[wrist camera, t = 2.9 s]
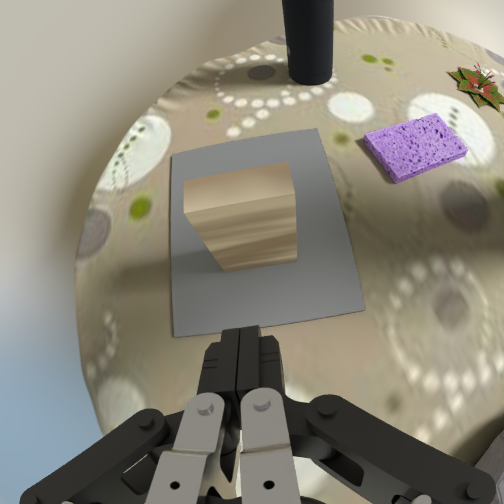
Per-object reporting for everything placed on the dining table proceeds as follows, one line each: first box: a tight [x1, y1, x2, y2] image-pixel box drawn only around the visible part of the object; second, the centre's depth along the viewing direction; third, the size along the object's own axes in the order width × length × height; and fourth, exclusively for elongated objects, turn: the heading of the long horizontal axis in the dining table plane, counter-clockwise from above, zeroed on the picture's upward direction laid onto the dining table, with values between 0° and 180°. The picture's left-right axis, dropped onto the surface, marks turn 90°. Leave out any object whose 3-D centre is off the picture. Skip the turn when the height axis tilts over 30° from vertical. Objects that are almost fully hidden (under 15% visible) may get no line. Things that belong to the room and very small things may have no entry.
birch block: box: [184, 162, 297, 272], centre depth 25 cm, size 3×7×12 cm, turn 97°
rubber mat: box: [171, 128, 365, 337], centre depth 33 cm, size 22×18×1 cm
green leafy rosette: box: [448, 63, 504, 111], centre depth 35 cm, size 12×12×5 cm
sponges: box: [364, 113, 468, 184], centre depth 33 cm, size 7×13×2 cm, turn 112°
